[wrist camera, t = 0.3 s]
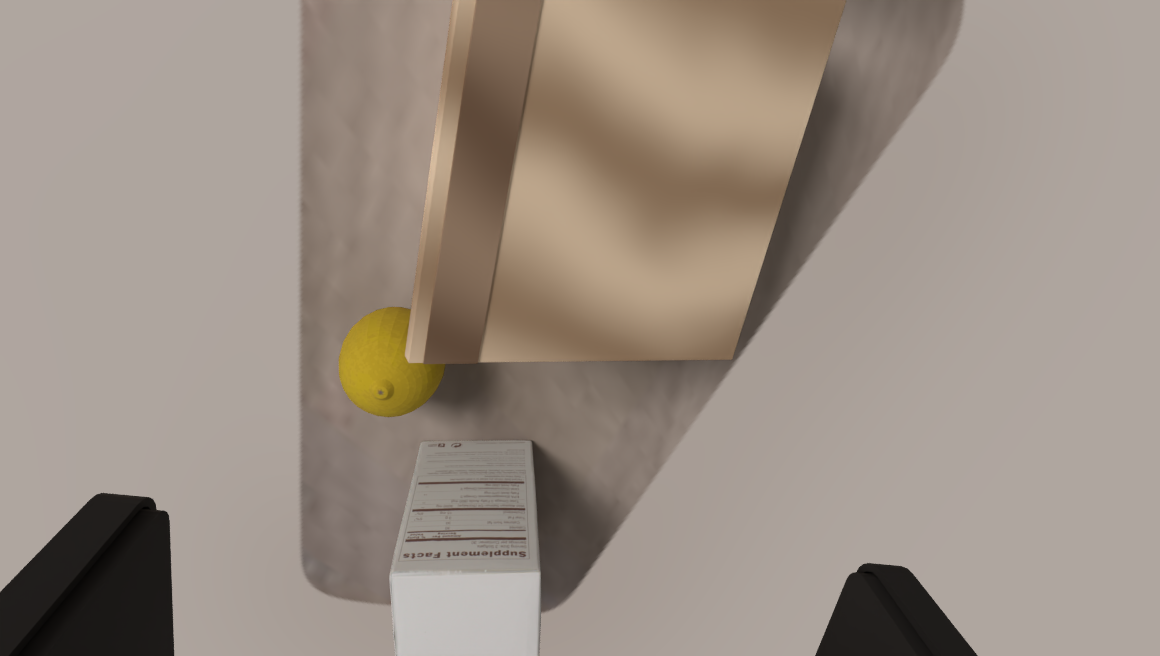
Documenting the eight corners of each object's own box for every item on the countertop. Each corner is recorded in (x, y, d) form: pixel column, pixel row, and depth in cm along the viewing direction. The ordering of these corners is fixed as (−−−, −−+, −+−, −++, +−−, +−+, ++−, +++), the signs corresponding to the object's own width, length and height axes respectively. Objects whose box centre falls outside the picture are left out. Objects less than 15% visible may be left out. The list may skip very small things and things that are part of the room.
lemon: (470, 327, 40) (461, 386, 33) (413, 391, 41) (392, 461, 34) (395, 270, 38) (367, 318, 31) (338, 338, 39) (298, 400, 32)
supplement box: (532, 529, 46) (539, 687, 34) (422, 531, 45) (391, 693, 33) (535, 436, 43) (544, 572, 32) (419, 436, 42) (384, 576, 31)
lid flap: (479, -197, 18) (487, -203, 17) (845, -36, 26) (860, -37, 25) (404, 355, 24) (409, 364, 23) (723, 354, 31) (733, 360, 31)
